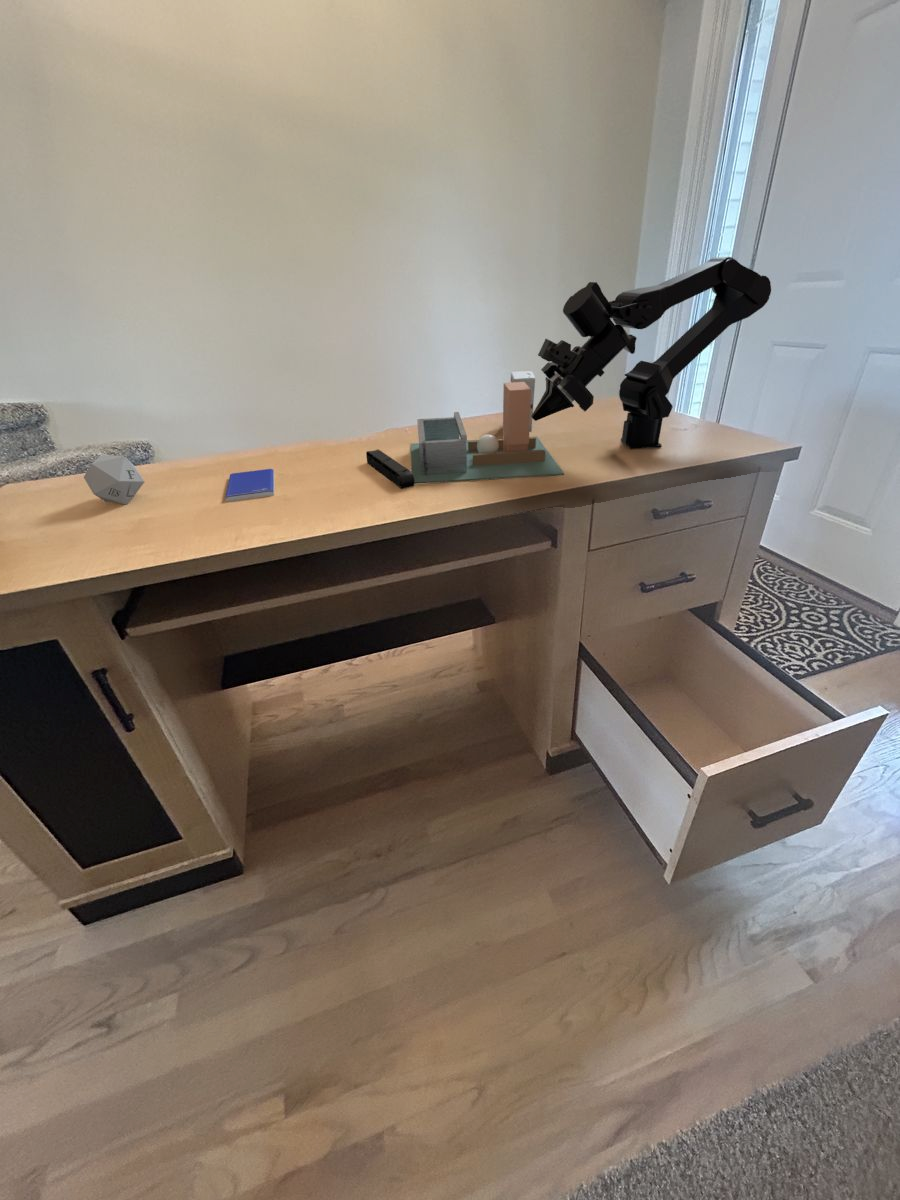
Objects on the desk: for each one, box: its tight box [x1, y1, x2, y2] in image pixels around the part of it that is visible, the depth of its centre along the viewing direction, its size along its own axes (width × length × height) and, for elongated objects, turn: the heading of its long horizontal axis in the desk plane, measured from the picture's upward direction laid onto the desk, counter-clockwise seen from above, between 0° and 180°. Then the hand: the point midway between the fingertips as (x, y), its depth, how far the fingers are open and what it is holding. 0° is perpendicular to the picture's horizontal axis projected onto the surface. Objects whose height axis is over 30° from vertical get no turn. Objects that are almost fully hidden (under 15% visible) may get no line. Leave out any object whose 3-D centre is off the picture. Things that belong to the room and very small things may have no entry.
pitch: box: [410, 435, 565, 485], centre depth 106 cm, size 28×24×2 cm
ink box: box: [510, 370, 536, 433], centre depth 122 cm, size 9×5×12 cm, turn 179°
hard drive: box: [224, 468, 275, 503], centre depth 98 cm, size 2×8×12 cm
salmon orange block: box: [502, 382, 531, 452], centre depth 103 cm, size 4×7×13 cm, turn 4°
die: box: [83, 453, 145, 505], centre depth 93 cm, size 8×9×10 cm
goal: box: [416, 411, 468, 475], centre depth 104 cm, size 9×17×7 cm, turn 4°
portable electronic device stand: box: [365, 449, 415, 490], centre depth 100 cm, size 18×3×3 cm, turn 28°
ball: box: [477, 433, 499, 453], centre depth 106 cm, size 4×4×4 cm
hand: (533, 418), depth 103 cm, fingers closed
